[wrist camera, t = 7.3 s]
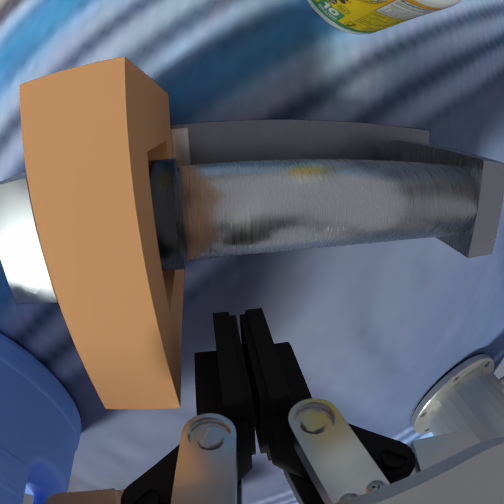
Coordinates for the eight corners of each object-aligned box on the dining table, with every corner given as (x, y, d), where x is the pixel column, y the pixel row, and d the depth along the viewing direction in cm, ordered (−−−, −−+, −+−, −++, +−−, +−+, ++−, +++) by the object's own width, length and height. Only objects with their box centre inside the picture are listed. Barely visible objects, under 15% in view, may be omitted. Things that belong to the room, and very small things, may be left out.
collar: (168, 94, 13) (125, 56, 5) (184, 272, 16) (180, 407, 8) (118, 101, 12) (20, 84, 4) (140, 276, 16) (105, 409, 8)
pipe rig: (425, 130, 16) (515, 148, 9) (417, 222, 18) (493, 270, 12) (54, 145, 13) (-29, 169, 7) (72, 251, 15) (16, 326, 9)
